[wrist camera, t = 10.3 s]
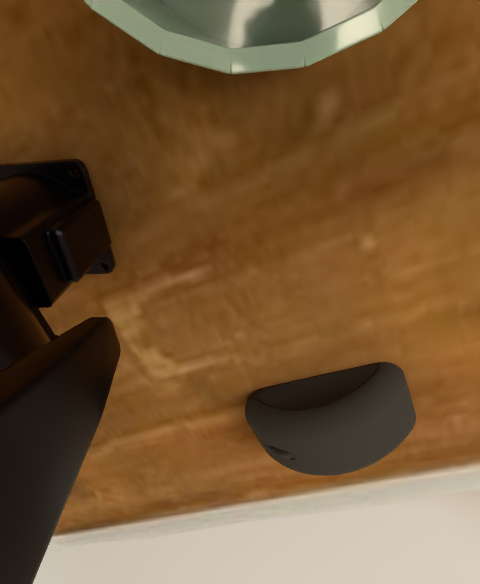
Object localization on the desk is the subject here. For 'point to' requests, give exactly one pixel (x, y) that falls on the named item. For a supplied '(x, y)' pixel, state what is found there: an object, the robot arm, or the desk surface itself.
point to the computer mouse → (333, 419)
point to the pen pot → (250, 29)
